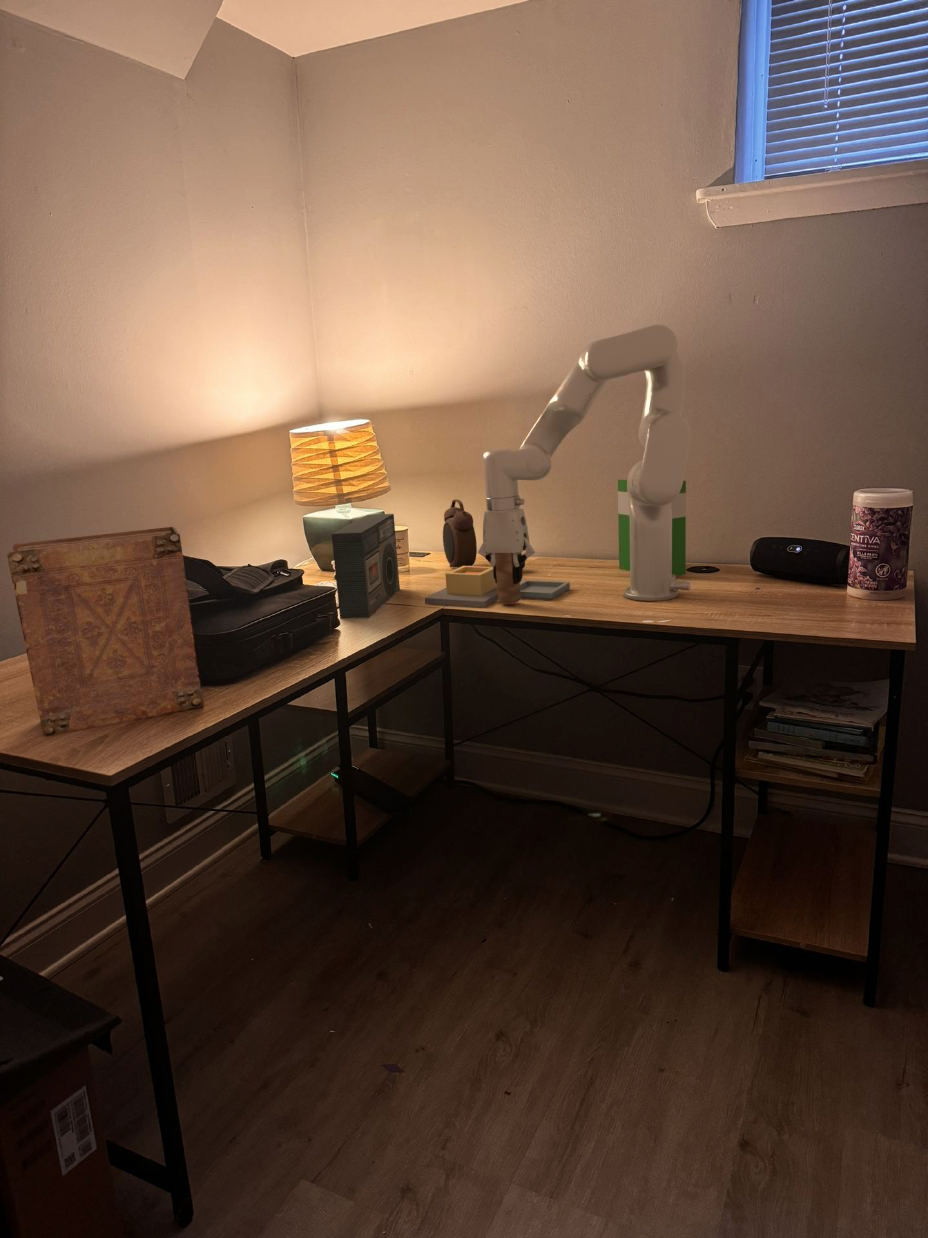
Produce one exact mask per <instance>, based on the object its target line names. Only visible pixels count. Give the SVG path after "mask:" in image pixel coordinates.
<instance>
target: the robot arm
mask: <svg viewBox="0 0 928 1238" xmlns="http://www.w3.org/2000/svg"><path fill="white" fill-rule="evenodd" d="M677 350H678V339H677V336H676V333H675V332H674V331H673V329H671V328H670V327H668V326H667V325H663V324H653V325H649V326H646V327H643V328H640V329H637V330H632V331H628V332H625V333H622V334H618V335H615V336H610V337H606V338H601V339H598V340H595V341H592V342H590V343H588V344H587V345H586V346H585V347H584V348H583V349H582V351H581V352H580V354H579V355H578V357H577V358H576V360H575V361H574V363H573V365H572V366H571V367H570V369H569V371H568V372H567V374H566V375H565V377H564V379H563V380H562V382H561V383H560V385H559V386H558V388H557V390H556V391H555V393H554V394H553V396H552V397H551V399H550V400H549V402H548V403H547V404H546V407H545V409H544V410H543V411H542V413H541V414H540V416H539V418H538V419H537V420H536V422H535V423H534V425H533V427H532V428H531V429H530V431H529V433H528V434H527V436H526V438H524V440H523V442H522V443H521V445H520V447H519V449H515V450H513V449H512V448H496V449H489V450H487V451H485V452H483V455H482V465H483V466H482V467H483V479H484V490H485V503H486V506H485V507H486V510H485V511H484V512H483V513H484V514H483V519H482V520H483V523H482V543H481V546H480V547H479V549H478V551H477V552H478V553H477V554H479V555H480V556H481V557H483V558H485V559H486V561H487V562H489V564H490V567H493V574H494V579H495V583H497V576H496V563H495V553H511V554H512V558H513V562H514V567H513V581H514V584H517V583H519V582H520V583H521V582H522V579H523V570H522V564H523V563H524V562H525V563H526V561H527V560H528V558H530V557H531V556H533V555H534V554H535V553H536V551H535V549H534V548H533V546H532V545H531V544H530V535H529V529H528V523H527V519H526V515H525V511H524V508H520V507H521V506H523V505H525V503H526V502H525V498H521V497H520V495H519V484H518V481H540V480H542V479H544V478H545V477H547V476H548V475H549V473H550V472H551V470H552V466H553V465H552V463H553V460H552V457H553V456H554V453H555V452H556V450H557V449H558V448H559V446H560V444H561V443H562V441H563V440H564V439H565V438H566V437H567V435H568V434H569V433H570V432H571V431H573V430H575V428H576V427H577V426H579V425H580V424H581V423H582V422H583V420H584V419H585V418H586V417H587V415H588V413H589V412H590V410H591V409H592V407H593V405H594V404H595V402H596V401H597V399H598V398H599V396H600V395H601V393H602V392H603V390H604V389H605V387H606V385H607V384H608V382H609V381H610V380H613V379H618V378H621V377H622V378H623V377H626V376H630V375H633V374H637V373H642V372H644V375H645V381H646V385H645V396H644V404H643V408H642V414H641V419H640V423H639V428H638V440H639V443H640V445H641V446H642V447H643V448H644V450H643V457H642V460H640V461H638V462H636V463H635V464H634V465H633V466H632V468H631V469H630V471H629V473H628V476H627V479H626V480H627V491H628V501H629V515H630V571H629V572H630V573H629V575H630V578H629V579H630V584H629V585H630V586H629V587H626V588H625V589H624V590H623V596H624V598H627V599H629V600H633V601H634V600H635V601H640V602H641V601H643V602H656V601H657V602H659V601H666V600H667V601H668V600H671V599H675V598H677V596H679V591H690V590H691V581H688V580H678V579H676V576H675V575H672V511H671V502H672V501H673V500H675V498H676V497H677V496H678V494H679V492H680V490H681V487H682V484H683V481H684V478H685V474H686V469H687V462H688V458H689V452H690V447H691V439H692V434H691V427H690V424H689V422H688V421H687V419H686V418H685V417H684V416H683V415H682V414H683V409H684V401H685V394H686V385H687V383H686V382H687V380H686V378H687V377H686V376H687V375H686V369H685V366H684V363H683V361H682V358H681V356H680V355H679V353H678V351H677ZM523 551H525V553H523V554H522V552H523Z"/></svg>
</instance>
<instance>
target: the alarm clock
mask: <svg viewBox="0 0 928 1238" xmlns="http://www.w3.org/2000/svg"><path fill="white" fill-rule="evenodd" d="M456 503H457V504H458V505H459V507H456ZM443 521H444V523H443V527H442V528H443V529H442V543H443V544H442V545H443V550H444V555H445V559H446V560H447V562H448V563H449V568H456V569H457V568H459V567H462V566H474V564H476V563H475V562H476V559H477V554H478V553H477V552H478V551H477V550H478V549H477V548H478V547H477V537H476V535H477V534H476V531H475V527H474V518H473V515H472V514H471V513H470V512H468V511H465V507H464V504H463V502H462V501H461V500H460V499H457V498H456V499H452V501H451V504H450V506H449V508H448V509H446V510H445V511H444V514H443Z"/></svg>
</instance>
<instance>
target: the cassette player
mask: <svg viewBox="0 0 928 1238" xmlns="http://www.w3.org/2000/svg"><path fill="white" fill-rule="evenodd" d="M395 525H396V524H395V513H383V514H382V513H381V514H379V513H378V514H367V515H364V516H363V517H361V518H358V519H357V520H355V521H353V522H351V523H349V524H347V525H345V526H343V527H342V528H339V529H338V530H336V531H334V532H332V533H331V543H332V553H333V563H334V571H335V583H336V591H337V601H338V610H339V619H370V618H371V617H372V616H373V615H374V614H375V613H376V612H377V611H378V610H379V609H380V608H381V607H382V606H384V605H385V604H386V603H387V602H388V601H390V599H391V598H392V597H393V596H394V595H395V594H396V593H397V592H399V591H400V589H401V586H400V585H401V584H400V575H399V574H400V573H399V564H398V549H397V542H396V541H397V540H396V527H395Z"/></svg>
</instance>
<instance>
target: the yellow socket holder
mask: <svg viewBox="0 0 928 1238" xmlns="http://www.w3.org/2000/svg"><path fill="white" fill-rule="evenodd" d="M465 572H481V573H479V574H468V573H465ZM445 584H446V586H445V588H443V589H440V590H438V591H436V592H434V593H431V594H430V595H428V596H425V597H424V605H435V606H451V607H452V606H453V607H466V608H467V607H468V608H484V609H485V608H486V607H488V606H490V605H492V604H494V603H495V602H498V589H497V583H495V579H494V574H493V567H492V566H476V565H472V566H462V567H459V568H457V567H456V568H455V569H452V570H450V571H448V572H446V573H445Z"/></svg>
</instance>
